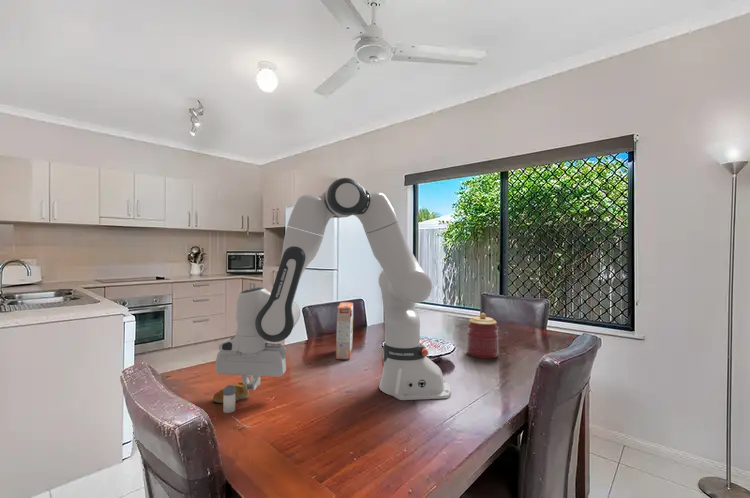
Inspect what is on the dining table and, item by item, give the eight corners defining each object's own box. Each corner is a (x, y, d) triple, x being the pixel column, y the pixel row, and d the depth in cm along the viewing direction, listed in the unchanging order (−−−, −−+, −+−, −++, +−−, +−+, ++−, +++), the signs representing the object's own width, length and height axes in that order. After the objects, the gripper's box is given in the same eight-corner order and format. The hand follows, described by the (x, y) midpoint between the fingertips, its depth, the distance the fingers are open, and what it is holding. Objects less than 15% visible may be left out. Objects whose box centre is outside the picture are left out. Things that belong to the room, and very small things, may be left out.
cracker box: (350, 360, 141) (351, 307, 141) (335, 359, 141) (336, 307, 141) (353, 349, 155) (353, 301, 155) (339, 349, 155) (340, 301, 155)
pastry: (219, 407, 99) (219, 393, 99) (208, 400, 103) (208, 387, 103) (250, 396, 106) (250, 384, 106) (239, 390, 110) (239, 378, 110)
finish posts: (262, 383, 116) (262, 362, 116) (232, 413, 95) (232, 388, 95) (252, 382, 117) (252, 362, 117) (220, 412, 95) (220, 387, 95)
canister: (464, 349, 159) (465, 309, 159) (494, 350, 158) (495, 310, 158) (468, 358, 147) (469, 315, 146) (501, 359, 145) (502, 316, 145)
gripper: (289, 340, 108) (288, 386, 108) (223, 338, 109) (223, 383, 109) (282, 346, 102) (282, 395, 102) (213, 344, 103) (212, 392, 103)
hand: (250, 389), depth 106 cm, fingers closed
